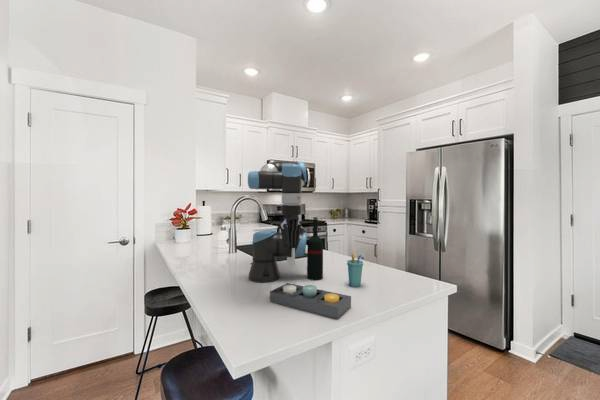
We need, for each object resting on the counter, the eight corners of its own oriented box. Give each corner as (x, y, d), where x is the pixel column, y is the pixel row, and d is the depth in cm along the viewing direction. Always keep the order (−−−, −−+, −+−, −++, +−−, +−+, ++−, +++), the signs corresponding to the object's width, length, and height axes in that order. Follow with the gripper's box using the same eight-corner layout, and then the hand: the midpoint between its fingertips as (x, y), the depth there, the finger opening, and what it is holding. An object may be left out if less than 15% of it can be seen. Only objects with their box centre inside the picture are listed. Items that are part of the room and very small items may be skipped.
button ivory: (280, 296, 108) (280, 287, 108) (287, 292, 113) (287, 284, 112) (291, 299, 105) (291, 290, 105) (298, 295, 110) (298, 286, 110)
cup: (370, 290, 120) (371, 255, 120) (354, 291, 119) (354, 256, 118) (356, 280, 134) (357, 249, 134) (341, 281, 132) (341, 250, 132)
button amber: (321, 306, 99) (321, 296, 99) (328, 301, 103) (328, 292, 103) (335, 309, 96) (335, 299, 96) (341, 304, 100) (341, 295, 100)
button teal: (300, 297, 103) (300, 287, 103) (307, 293, 108) (307, 284, 108) (312, 300, 101) (312, 290, 101) (319, 295, 105) (319, 286, 105)
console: (269, 301, 106) (270, 291, 106) (287, 292, 117) (287, 283, 117) (337, 319, 92) (337, 307, 92) (350, 307, 102) (351, 296, 102)
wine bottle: (316, 273, 145) (317, 216, 144) (325, 279, 135) (326, 217, 135) (302, 275, 142) (303, 216, 141) (310, 281, 132) (311, 218, 132)
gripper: (290, 205, 101) (289, 270, 102) (308, 204, 112) (307, 262, 113) (273, 204, 105) (273, 267, 106) (292, 203, 116) (292, 259, 117)
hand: (290, 264), depth 109 cm, fingers closed
